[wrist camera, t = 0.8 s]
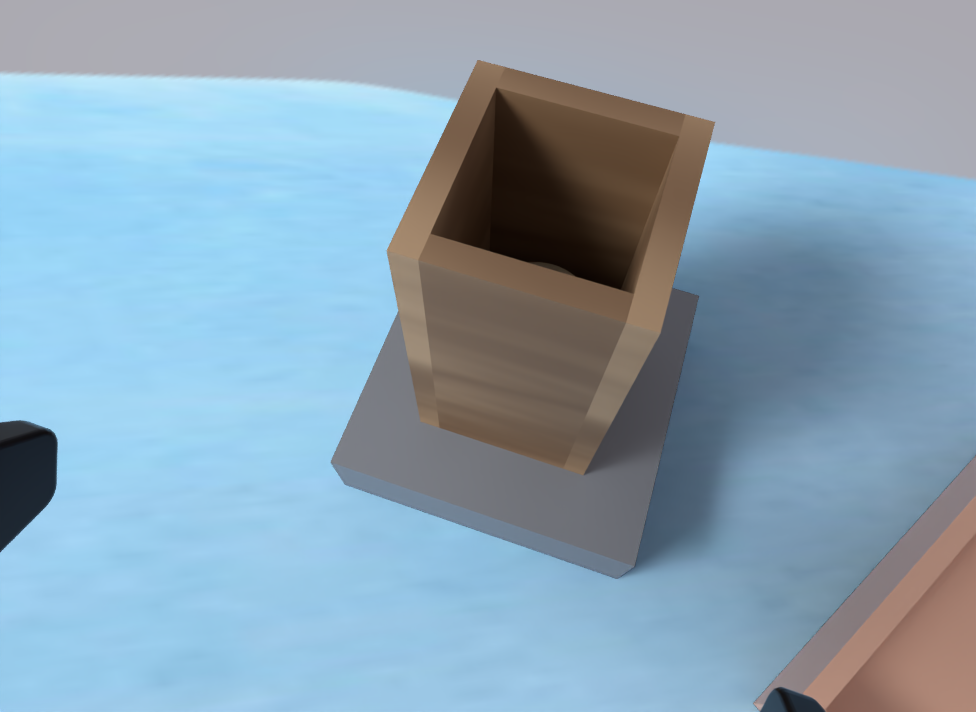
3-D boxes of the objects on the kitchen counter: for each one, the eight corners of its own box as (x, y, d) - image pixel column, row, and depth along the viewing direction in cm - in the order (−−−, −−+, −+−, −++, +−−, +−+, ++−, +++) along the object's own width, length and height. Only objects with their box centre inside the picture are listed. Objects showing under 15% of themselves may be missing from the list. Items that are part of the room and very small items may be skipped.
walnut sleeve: (582, 475, 20) (659, 333, 12) (420, 421, 20) (386, 250, 12) (633, 298, 22) (725, 80, 14) (487, 254, 23) (496, 21, 15)
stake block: (617, 578, 21) (674, 538, 15) (344, 484, 22) (297, 411, 16) (678, 330, 25) (744, 219, 19) (442, 260, 26) (433, 133, 20)
